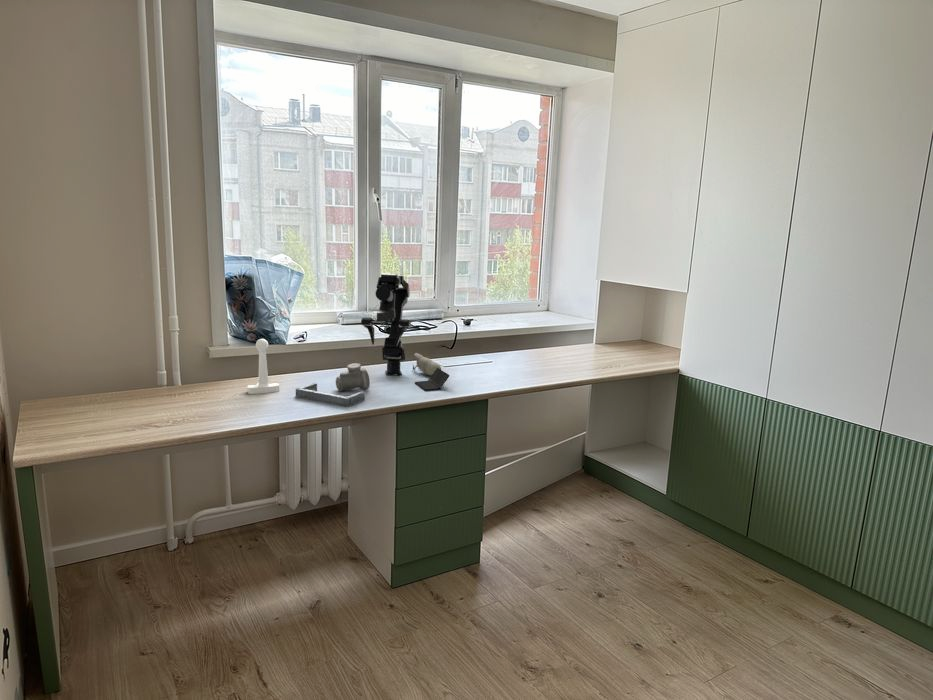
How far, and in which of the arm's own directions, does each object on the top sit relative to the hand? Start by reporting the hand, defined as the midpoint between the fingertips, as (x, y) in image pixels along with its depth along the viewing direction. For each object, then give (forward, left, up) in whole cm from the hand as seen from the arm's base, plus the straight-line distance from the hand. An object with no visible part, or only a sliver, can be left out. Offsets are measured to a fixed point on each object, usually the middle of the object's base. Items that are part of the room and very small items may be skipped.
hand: (384, 345), depth 242 cm
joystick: (+2, -46, -17) cm, 48 cm away
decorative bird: (-16, +20, -17) cm, 30 cm away
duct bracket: (+15, -21, -16) cm, 31 cm away
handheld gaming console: (+2, +19, -17) cm, 25 cm away
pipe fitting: (+4, -13, -17) cm, 21 cm away
